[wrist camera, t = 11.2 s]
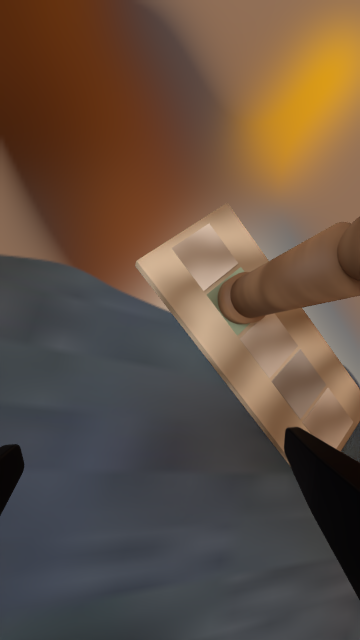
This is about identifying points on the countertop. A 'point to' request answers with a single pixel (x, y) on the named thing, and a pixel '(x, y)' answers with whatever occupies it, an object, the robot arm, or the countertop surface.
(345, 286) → the pawn
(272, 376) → the track board
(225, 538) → the countertop surface
